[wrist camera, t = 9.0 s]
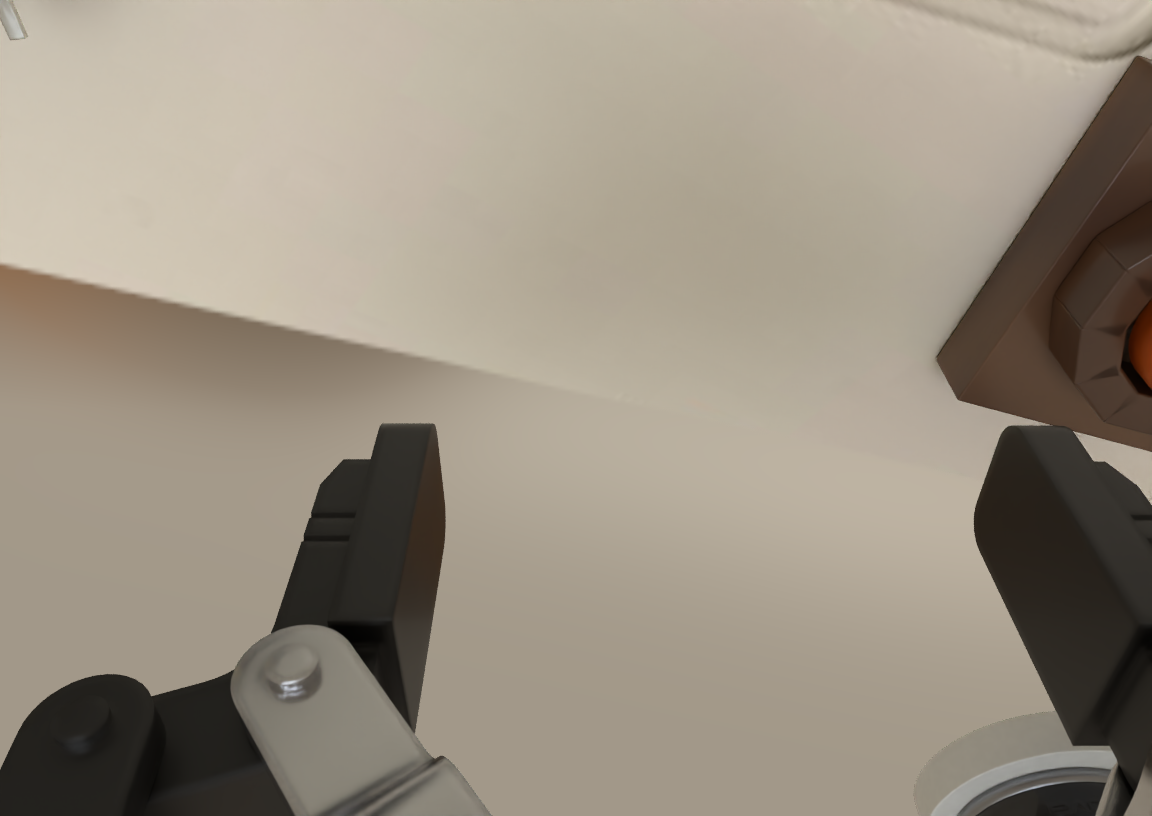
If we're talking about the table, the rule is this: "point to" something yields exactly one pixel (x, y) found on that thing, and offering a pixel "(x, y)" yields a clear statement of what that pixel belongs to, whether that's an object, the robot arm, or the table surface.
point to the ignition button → (1142, 344)
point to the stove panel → (11, 20)
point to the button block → (1073, 289)
